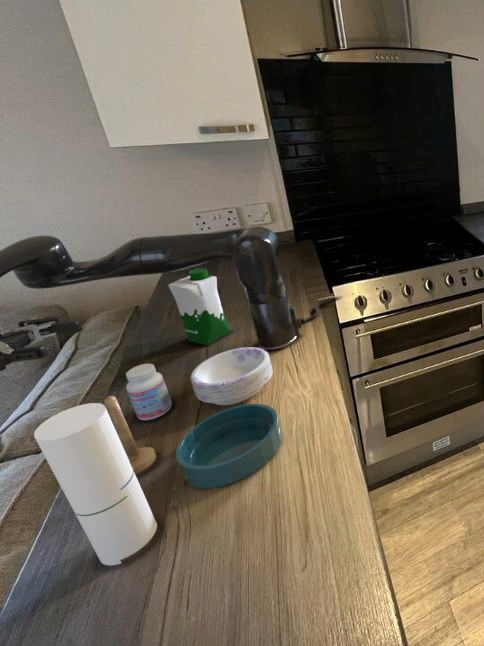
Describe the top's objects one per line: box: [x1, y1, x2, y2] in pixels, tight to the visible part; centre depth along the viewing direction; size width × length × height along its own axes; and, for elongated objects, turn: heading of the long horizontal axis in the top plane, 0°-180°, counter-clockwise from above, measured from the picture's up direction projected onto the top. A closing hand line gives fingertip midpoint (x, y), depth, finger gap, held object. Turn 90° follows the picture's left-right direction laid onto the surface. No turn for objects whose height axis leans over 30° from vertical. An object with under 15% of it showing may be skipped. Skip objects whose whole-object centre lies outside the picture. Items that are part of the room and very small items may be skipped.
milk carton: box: [167, 267, 231, 346], centre depth 122 cm, size 9×9×20 cm
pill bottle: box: [125, 363, 173, 421], centre depth 96 cm, size 6×6×11 cm
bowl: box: [174, 403, 283, 489], centre depth 86 cm, size 16×16×6 cm
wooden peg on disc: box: [103, 395, 157, 475], centre depth 81 cm, size 6×6×17 cm
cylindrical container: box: [33, 402, 158, 566], centre depth 66 cm, size 7×7×25 cm
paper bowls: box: [190, 346, 274, 406], centre depth 102 cm, size 15×15×8 cm
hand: (63, 338), depth 81 cm, fingers open, 8 cm apart
